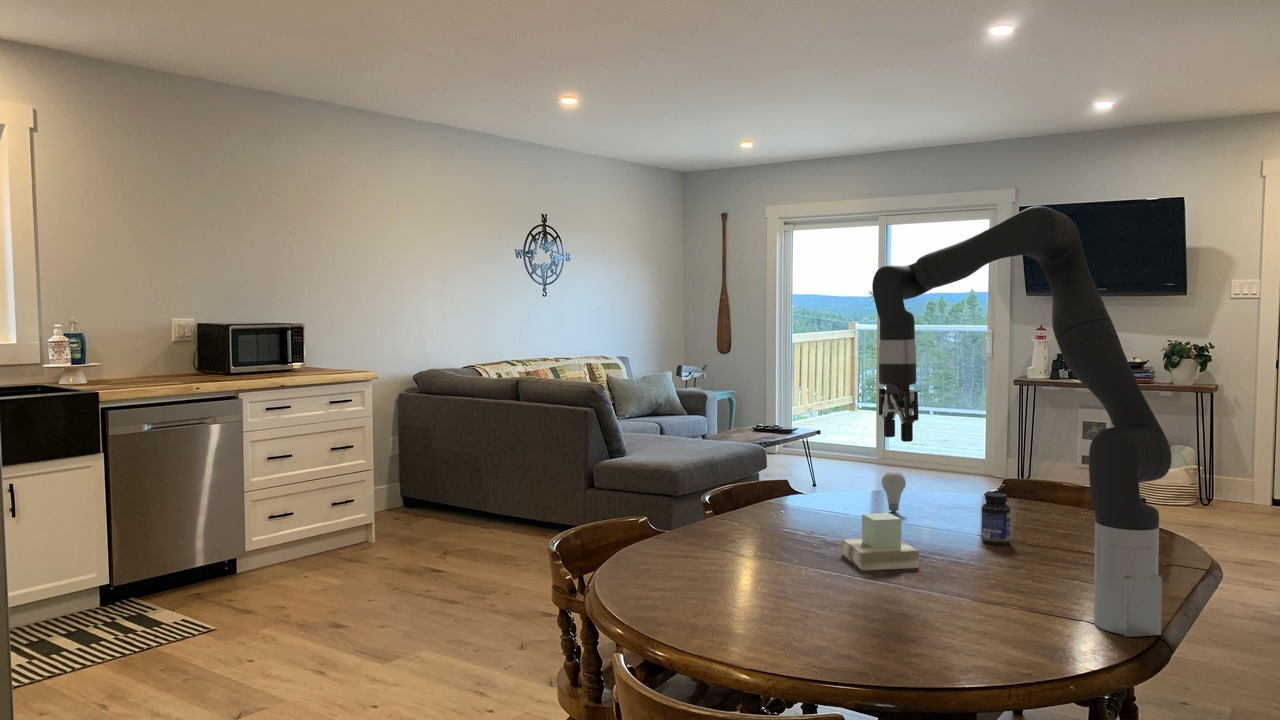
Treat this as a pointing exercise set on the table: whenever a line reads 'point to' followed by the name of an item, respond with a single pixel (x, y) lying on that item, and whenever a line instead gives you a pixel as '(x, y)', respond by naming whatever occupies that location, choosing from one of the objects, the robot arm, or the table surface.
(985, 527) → the pill bottle
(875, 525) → the sage block
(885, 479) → the lightbulb
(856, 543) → the birch block
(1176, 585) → the table surface
